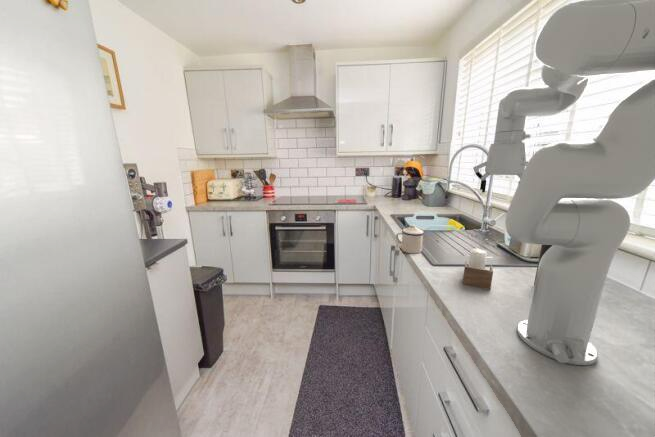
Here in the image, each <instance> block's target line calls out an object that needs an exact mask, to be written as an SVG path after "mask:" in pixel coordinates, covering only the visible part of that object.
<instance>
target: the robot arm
mask: <svg viewBox="0 0 655 437" xmlns="http://www.w3.org/2000/svg"><path fill="white" fill-rule="evenodd" d="M534 55H535V58H536V59H537V61H538V62H540V63H541V64H542V68H541V72H540V74H541V78H542V82H543V83H544V84H545V85H541V86H539V85H538V86H529V87H527V86H525V87H518V88H514V89H511V90H510V91H509V92H507V94H506V95H505V96H504V97H503V98H501V99H500V100H499V103H498V111H497V117H496V124H495V125H496V127H495V132H494V139H493V140H494V141H493V143H491V144H490V145H489V148H488V152H487V155H486V156H487V157H486V161H484V162H482V163H480V164H477V165H475V166H474V167H473V168H472V169H473V172H474V174H475V175H476V177H478V179H479V180H480V188H479V190H480V191H481V193H483V194H484V193H486V187H487V179H488V178H489V176H490V175H491V176H516V177H518V178H519V179H520V180H519V181H518V184H517V187H516V189H515V192H514V194H513V196H512V199H511V201H510V204H509V207H508V209H507V212H506V216H505V221H504V222H505V224H504V225H505V230H506V233H507V235H508V236H509V238H511V239H512V240H514V241H516V242H518V243H523V244H530V245H531V244H532V245H541V246H542V245H552V246H551V247H550V248H549V249H548V250H547V251H546V252H545V254H544V255H543V256H542V258H541V260H540V263H539V267H538V271H537V270H536V271H537V276H536V275H535V276H536V281H535V280H534V281H535V286H534V285H533V286H534V287H533V291H532V297H531V302H530V307H529V312H528V319H525V320H521V321H520V322H518V324H517V327H516V332H517V334H518V336H519V337H520V339H521V340H522V341H523V342H524V343H525V344H527V345H528V346H529V347H530V348H532V349H533V350H535V351H537V352H539V353H540V354H542V355H544V356H546V357H549V358H551V359H554V360H556V361H557V362H558V363H561V364H570V365H574V366H590V365H593V364H595V363H596V362H597V360H598V358H599V354H598V351H597V349H596V347H595V346H594V345H593V344H592V343H591V342H590V339H591V336H592V331H593V327H594V324H595V320H596V316H597V313H598V308H599V306H600V301H601V298H602V295H603V290H604V287H605V285H606V284H605V283H606V280H607V277H608V273H609V270H610V267H611V264H612V261H613V259H614V257H615V255H616V253H617V251H618V249H619V248H620V247H621V244H622V243H623V241H624V240H625V238H626V237H627V234H628V233H629V230H630V227H631V217H630V214H629V212H628V210H627V209H626V208H625V207H624V206H623V205H621V204H620V203H619V202H616V201H613V200H617V199H626V198H632V197H634V196H636V195H639V194H641V193H642V192H643V191H645V190H646V189H647V188H648V187H649V186H650V185H652V183H653V182H654V181H655V76H654V77H652V78H651V79H649V80H647V81H646V82H644V83H642V84H640V86H637V88H636V89H634V90H633V91H631V92H630V93H628V94H627V96H625V97H624V98H623V99H622V100H621V101H620V102H618V104H617V105H616V106H615V107H614V108H613V109H612V110H611V112H610V113H609V115H607V118H606V120H605V122H604V123H603V125H602V128H601V129H600V131H598V133H597V134H596V135H595V137H593V138H591V139H588V140H577V141H573V140H572V141H558V142H553V143H550V144H546V145H545V146H542V147H541V148H540V149H538V150H537V151H536V152H535V153H534V154H533V155H532V156H531V158H530V159H529V160H528V161H526V160H527V142H526V141H525V140H526V139H530V138H531V133H527V132H526V128H527V121H528V118H529V117H531V118H532V117H549V116H550V117H551V116H554V115H555V116H556V115H558V114H560V113H562V112H565V111H566V110H568V108H570V107H572V106H573V105H575V104H577V102H579V100H580V99H581V98H582V97H583V96H584V94H585V92H586V90H587V88H588V86H589V83H590V77H596V76H599V77H600V76H608V75H609V76H610V75H622V74H634V73H643V72H655V0H579V1H574V2H569V3H567V4H565V5H563V6H562V7H560V8H558V9H557V10H555V11H554V12H553V13H552V14H551V15H550V16H549V17H548V18H547V20H545V22H544V24H543V25H542V27H541V28H540V30H539V32H538V34H537V37H536V39H535V43H534ZM481 168H485V169H484V170H485V171H484V172H485V173H484V174H482V173H480V171H479V170H480V169H481ZM612 199H613V200H612Z"/></svg>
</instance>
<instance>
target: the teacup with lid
mask: <svg viewBox="0 0 655 437" xmlns="http://www.w3.org/2000/svg"><path fill="white" fill-rule="evenodd" d="M424 234H425V233H424V230H422V229H420V228H418V227H416V225H415V224H410V226H409V227H406V228H403V229H402V230H401V232H398V233H396V235H395V240H396V242H398V243H399V244H401V251H402V252H404V253H407V254H414V255H415V254H419V253H422V251H423V240H424V239H423V238H424ZM399 235H402V236H401V237H402V238H401V240H399Z"/></svg>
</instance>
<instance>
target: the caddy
mask: <svg viewBox="0 0 655 437" xmlns="http://www.w3.org/2000/svg"><path fill="white" fill-rule="evenodd" d="M467 264H468V263H467V261H466V260H465V262H464V270H463V276H462V278H463V279H462V284H463V285H465V286H470V287H476V288H479V289H485V290H488V291H489V290H491V287H492V283H493V281H492V280H493V275H494V269H493V265H492V264H491V265H490V266H489V269H486V268H485V269H480V268H475V267H469V266H468V265H467Z"/></svg>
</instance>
